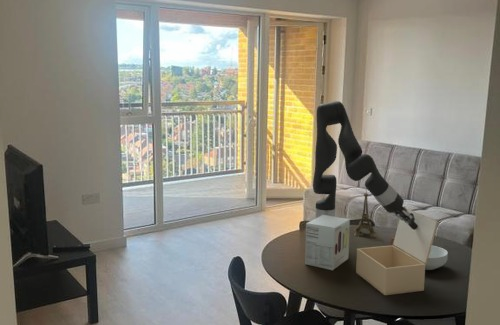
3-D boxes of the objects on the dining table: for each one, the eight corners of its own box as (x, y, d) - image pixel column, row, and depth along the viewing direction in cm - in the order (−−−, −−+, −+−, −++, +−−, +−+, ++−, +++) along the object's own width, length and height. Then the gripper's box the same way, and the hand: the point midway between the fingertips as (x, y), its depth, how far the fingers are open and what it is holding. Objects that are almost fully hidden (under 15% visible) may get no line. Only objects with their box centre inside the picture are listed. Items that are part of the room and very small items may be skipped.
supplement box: (333, 271, 194) (335, 228, 191) (304, 264, 201) (305, 223, 198) (349, 258, 208) (350, 218, 205) (321, 252, 215) (322, 214, 212)
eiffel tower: (375, 237, 237) (377, 188, 234) (353, 236, 240) (355, 187, 236) (375, 231, 248) (377, 184, 244) (354, 230, 250) (355, 183, 246)
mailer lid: (436, 221, 172) (438, 221, 172) (402, 206, 193) (404, 207, 193) (425, 263, 173) (426, 263, 174) (392, 244, 195) (393, 244, 195)
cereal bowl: (413, 256, 210) (414, 241, 209) (452, 265, 200) (453, 249, 199) (397, 267, 197) (398, 251, 196) (438, 277, 187) (440, 260, 186)
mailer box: (384, 295, 171) (385, 268, 170) (356, 272, 192) (357, 248, 191) (423, 290, 175) (425, 264, 174) (391, 268, 196) (392, 245, 195)
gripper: (372, 201, 184) (399, 230, 188) (390, 209, 171) (418, 240, 176) (385, 187, 184) (412, 216, 189) (404, 194, 172) (432, 225, 176)
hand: (415, 227), depth 182 cm, fingers closed
